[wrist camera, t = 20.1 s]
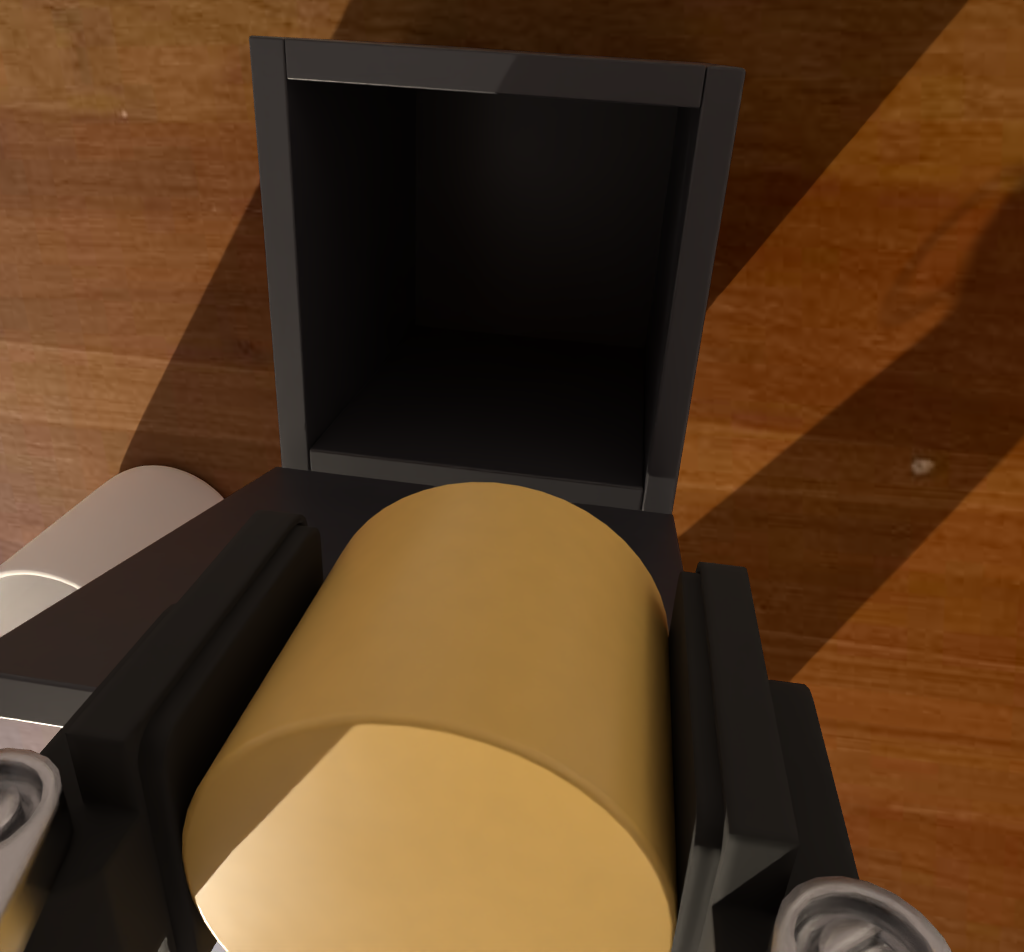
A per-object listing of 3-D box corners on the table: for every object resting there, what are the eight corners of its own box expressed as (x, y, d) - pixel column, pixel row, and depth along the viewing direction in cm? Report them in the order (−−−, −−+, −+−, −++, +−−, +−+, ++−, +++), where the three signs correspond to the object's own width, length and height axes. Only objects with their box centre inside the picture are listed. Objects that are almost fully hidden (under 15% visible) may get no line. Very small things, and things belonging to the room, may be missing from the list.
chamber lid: (-51, 666, 13) (-21, 948, 14) (724, 784, 12) (670, 1079, 13) (275, 465, 25) (274, 630, 26) (673, 513, 24) (649, 683, 25)
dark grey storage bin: (399, 43, 32) (247, 35, 20) (707, 63, 31) (746, 68, 19) (400, 336, 38) (281, 472, 25) (663, 363, 37) (671, 519, 24)
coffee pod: (599, 432, 9) (569, 665, 6) (711, 725, 11) (743, 1046, 7) (270, 534, 11) (82, 774, 7) (414, 783, 12) (320, 1079, 9)
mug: (337, 558, 44) (256, 691, 35) (269, 654, 47) (179, 796, 38) (135, 429, 42) (-7, 533, 33) (80, 538, 46) (-61, 659, 37)
